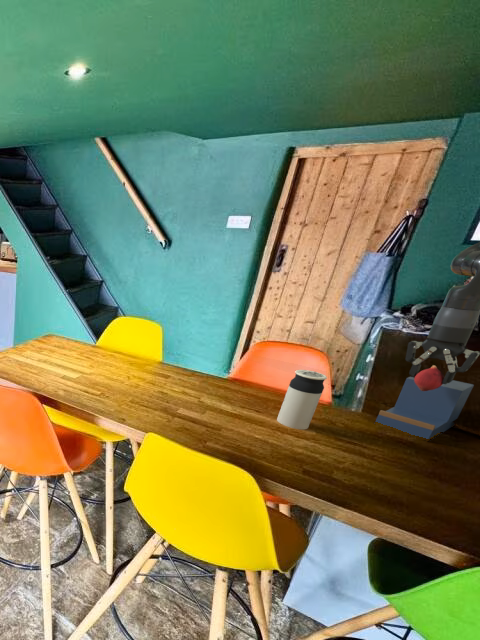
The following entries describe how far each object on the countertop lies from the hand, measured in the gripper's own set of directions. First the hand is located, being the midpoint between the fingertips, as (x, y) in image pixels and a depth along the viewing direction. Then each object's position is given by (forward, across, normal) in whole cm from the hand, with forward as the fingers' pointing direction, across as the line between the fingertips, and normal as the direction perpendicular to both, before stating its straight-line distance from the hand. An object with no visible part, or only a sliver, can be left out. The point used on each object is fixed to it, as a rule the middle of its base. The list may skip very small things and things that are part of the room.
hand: (428, 379), depth 118 cm
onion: (+4, 0, 0) cm, 4 cm away
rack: (+17, 0, -6) cm, 18 cm away
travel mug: (+17, +18, +29) cm, 38 cm away
